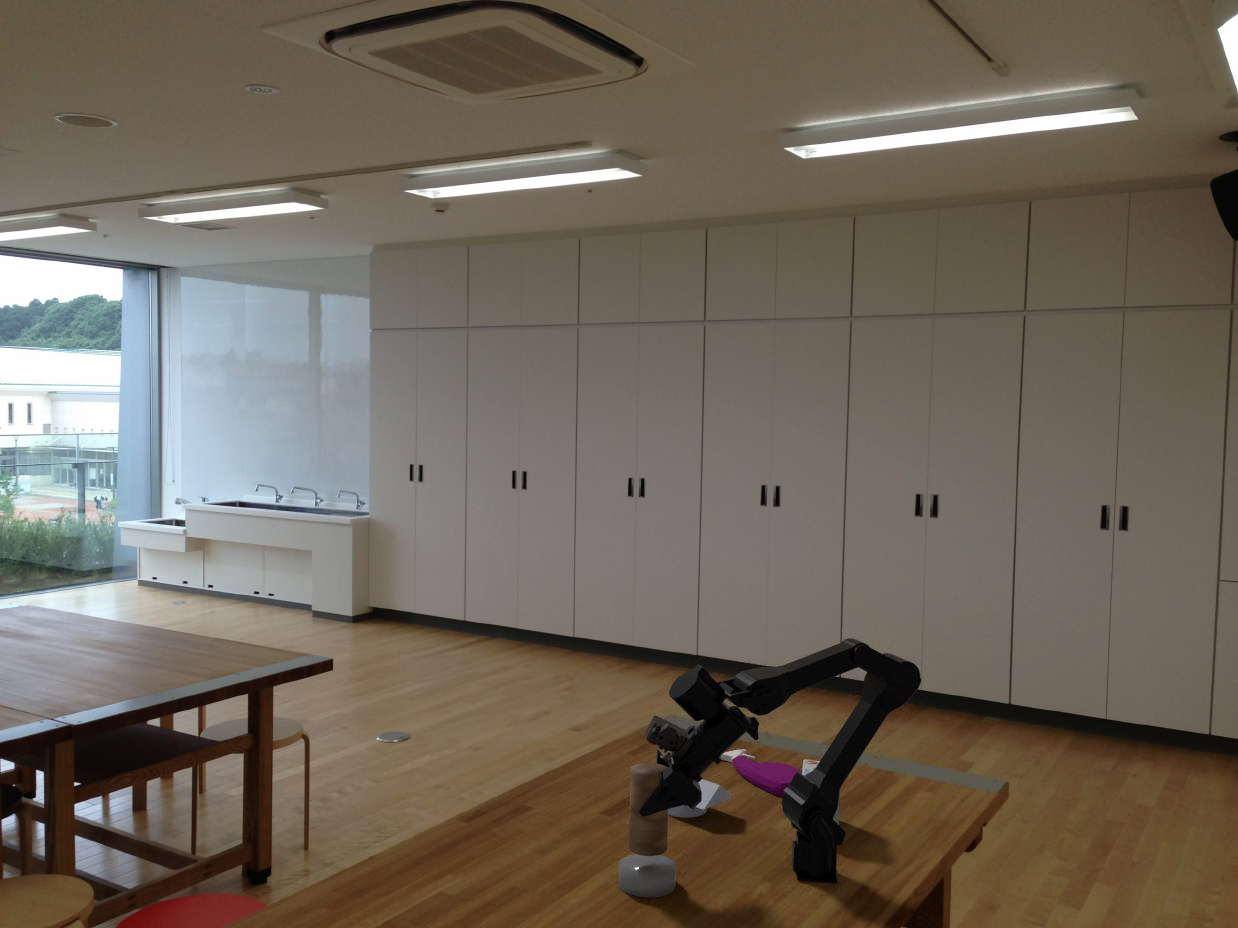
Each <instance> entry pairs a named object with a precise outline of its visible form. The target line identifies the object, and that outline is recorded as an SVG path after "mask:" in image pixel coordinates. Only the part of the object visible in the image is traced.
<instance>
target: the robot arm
mask: <svg viewBox="0 0 1238 928" xmlns="http://www.w3.org/2000/svg"><path fill="white" fill-rule="evenodd" d="M858 668H859V669H861V670H862V671H864V672H866V674H865V676H864V678H863V686H862V695H861V697H860V699H859V700H858V702H857V704H856V705H855V707H854V708H853V710H852V711H851V713H850V714H849V716H848V717H847V719H846V720H845V722H844V723H843V725H842V727H841V728H840V729H839V732H838V733H837V734H836V736H835V737H834V739H833V740H832V742H831V744H830V745H829V747H828V748H827V749H826V751H825V752H824V754H823V756H822V757H821V759H820V760H819V761H820V762H819V763H818V765H817V767H816V768H815V769H814V770H813V771H811V772H810V773H808V774H806V775H805V776H804V775H802V774H801V773H800V772H797V773H796V774H795V775H794V777H793V779H792V781H791V783H790V784H789V786H788V787H787V788H786V789H784V790H783V792H784V793H785V795H784V797H782V799H781V808H782V812H783V814H784V816H785V818H787V820H789V822H790V824H791V827H792V828H793V829H795V830H796V832H795V840H792V841H791V842H792V844H791V869H792V871H793V873H795V877H796V878H795V879H796V880H797V881H801V882H814V883H816V882H817V883H818V882H820V883H836V884H837V883H839V877H838V874H837V863H838V861H837V858H838V846H842V845H843V843H844V840H845V837H846V831H845V830H844V829H843V828H842V827H841V826H840V824H839V825H838V824H837V823H836V822H835V821H834V820H833V817H834V815H835V813H836V811H837V809H838V802H839V803H840V797H839V793H840V792H841V788H842V786H843V785H844V783H845V782H846V780H847V778H848V777H849V775H850V773H851V772H852V771H853V769H854V767H855V766H856V764H857V763H858V762H859V760H860V758H861V757H862V755H863V753H864V752H865V750H866V749H867V747H868V746H869V744H870V743H871V741H872V740H873V738H874V737H875V735H876V733H877V732H878V730H879V729H880V728H881V726H882V724H883V723H884V722H885V720H886V718H887V716H888V715H889V714H890V713H893V712H894V711H895V710H898V709H899V708H900V707H902V706H904V705H905V704H906V703H907V702H908V701H909V700H910V699H911V698H912V697H913V696H914V694H916V692H917V691H918V689H919V688H920V686H921V683H922V678H921V671H920V669H919V668H918V666H917V665H916V664H915V663H914V662H912V661H910V660H908V659H905V658H903V657H899V656H898V655H896V654H893V653H890V652H889V653H888V652H885V653H884V652H883V653H882V652H880V651H878V650H876V649H874V648H872V647H870V645H869V644H867V643H865V642H863V641H860V640H858V639H857V638H852V637H849V638H845V639H843V640H842V641H841V642H840V643H837V644H834V645H832V646H829V647H827V648H824V649H820V650H819V651H816V652H814V653H811V654H808V655H806V656H804V657H800V658H799V659H796V660H794V661H791V662H788V663H786V664H782V665H778V666H761V667H757V668H751V669H746V670H742V671H740V672H739V673H737V674H736V675H735V676H734V677H731V678H727V679H723V680H718V681H716V680H715V679H714V678H713V677H712V676H711V674H710V672H709V671H708V670H707V669H706V668H705V667H703V666H702V665H701V664H697V665H696V666H695V667H694V668H693V669H690V670H689V669H688V670H687V671H686V672H684V673H682V674H681V675H678V676H677V678H676V679H675V680H674V681H673V683H672V684H671V686H670V688H669V691H668V696H669V697H670V699H672V700H673V701H674V702H675V703H676V704H677V705H678V707H680V708H681V709H682V710H683V711H684V712H685V713H686V714H688V716H689V717H690V718H691V719H692V720H693V721H694V722H695V721H696V722H700V721H701V722H700V723H699V724H698V725H697V726H696V725H695V724H693V725H689V726H688V727H687V728H686V729H684V728H682V727H680V726H679V725H676V724H674V723H672V722H670V721H669V720H666V719H664V718H662V717H660V716H658V715H653V717H652V719H651V721H650V723H649V724H648V726H647V728H646V730H645V734H644V735H645V739H646V741H647V742H648V743H650V744H651V745H653V746H658V748H659V750H658V749H656V764H661V765H664V766H666V767H667V769H666V770H665V772H664V773H662V772H661V771H660V780H659V785H658V787H657V788H656V789H655V791H654V792H653V793H652V794H651V796H650V797H649V798H648V799H647V801H646V802H645V803H644V805H643V806H642V807H641V809H640V810H639V813H640V814H641V815H642V816H643V817H645V816H648V815H651V814H654V813H657V812H660V811H664V810H667V809H670V808H674V807H678V806H682V805H685V806H687V805H688V806H689V807H690V808H691V809H692V810H693V809H694V808H695V807H696V806H697V805H698V804H699V803H700V802H701V801H702V792H701V788H700V784H699V782H700V781H701V780H702V779H703V780H704V778H703V773H705V772H706V771H707V770H708V769H709V768H710V767H711V766H712V765H713V764H714V763H715V764H716V765H717V766H718V765H719V764H720V763H721V762H722V761H723V760H722V759H721V755H722V754H723V753H725V752H728V750H729V749H730V748H731V747H732V746H733V745H734V744H735V743H737V741H738V740H739V739H741V737H742V736H744V735H745V734H746V733H747V734H748V735H749V737H751V738H752V739H753V740H755V741H758V739H759V726H760V722H759V720H758V719H757V717H756V716H759V717H760V716H761V717H762V716H765V715H768V714H770V713H772V712H773V711H775V710H776V709H778V708H780V707H782V706H783V705H785V704H786V702H787V701H788V700H789V699H790V698H791V697H792V696H793V695H794V694H796V693H798V692H800V691H802V690H804V689H807V688H809V687H812V686H815V685H817V684H819V683H822V682H826V681H827V680H830V679H833V678H835V677H837V676H840V675H843V674H844V673H848V672H850V671H853V670H854V669H858ZM726 700H727V701H728V702H730V703H731V704H733V705H732V706H729V705H728V704H727V703H726V702H725V701H726ZM740 708H742V709H745V710H747V711H748V712H750V713H752V714H753V715H756V716H748V715H746V714H745V713H744V711H742V710H741V709H740ZM660 750H662V751H660Z"/></svg>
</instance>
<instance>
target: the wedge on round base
mask: <svg viewBox="0 0 1238 928" xmlns="http://www.w3.org/2000/svg"><path fill="white" fill-rule="evenodd" d="M699 784H700V788H701V792H702V801H701V802H700V803H699V804H698V805H697V806H696V807H695V808H694V809H693V810H692V809H691V808H690V807H689V806H688V805H687V806H685V805H682V806H678V807H674V808H670V809H668V816H670V815H671V817H676V818H686V819H687V818H696V817H699V816H703V815H705V814H706V813H707V811H708V809H709V808H712V807H714V806H716V805H718V804H720V803H723V802H725V801H728V800H730V799H733V798H735V796H733V794H731V793H730V792H729V791H727V789H725V788H724V787H723V786H722V785H720V784H719V783H715V782H711V781H709V780H706V779H704V778H703V779H702V780H701V781H700V782H699Z"/></svg>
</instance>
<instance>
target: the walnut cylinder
mask: <svg viewBox="0 0 1238 928" xmlns="http://www.w3.org/2000/svg"><path fill="white" fill-rule="evenodd" d="M666 769H667V767H666V766H664V765H661V764H656V763H655V762H642V763H636V764H634V765H632V766H631V767H630V772H629V773H630V777H629V778H630V779H629V781H630V782H629V783H630V784H629V821H628V822H629V825H628V826H629V827H628V831H629V832H628V849H629V850H630V852H631V853H632V854H638V855H642V856H657V855H663V854H665V853H666V852H667V850H668V836H669V835H668V832H669V831H668V830H669V829H668V826H669V823H668V822H669V815H668V809H667V810H664V811H660V812H657V813H654V814H651V815H648V816H645V817H643V816H642V815H641V814H640V813H639V810H640V809H641V807H642V806H643V805H644V803H645V802H646V801H647V799H648V798H649V797H650V796H651V794H652V793H653V792H654V791H655V789H656V788H657V787H658V785H659V780H660V771H661V772H662V773H664V772H665V770H666Z"/></svg>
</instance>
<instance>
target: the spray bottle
mask: <svg viewBox="0 0 1238 928" xmlns="http://www.w3.org/2000/svg"><path fill="white" fill-rule="evenodd" d="M721 759H722V761H724V762H725V761H726V762H729V763H731V764H732V766H733V767H734V768H735V770H736V771H737V772H738V774H739V775H741V777H742V778H744V779H745V780H746V781H747V782H748V783H750V784H752V785H754V786H755V787H757V788H759V789H761V790H763V791H765V792H768V793H770V794H771V795H774V796H777V797H781V798H783V797H784V795H785V793H784V792H783V790H784V789H786V788H787V787H788V786H789V784H790V783H791V781H792V779H793V777H794V775H795V774H796V773H797V772H800V773H801V774H802V770H801V769H799V768H797V767H795V766H792V765H790V764H787V763H783V762H775V761H763V762H762V761H760V762H757V761H756V762H755V761H754V760H755V759H756V756H753V755H749V754H747V749H744V748H742V749H736V750H735V749H734V750H730V751H726V752H725V753H723V754H722V755H721ZM752 759H753V760H752Z"/></svg>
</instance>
